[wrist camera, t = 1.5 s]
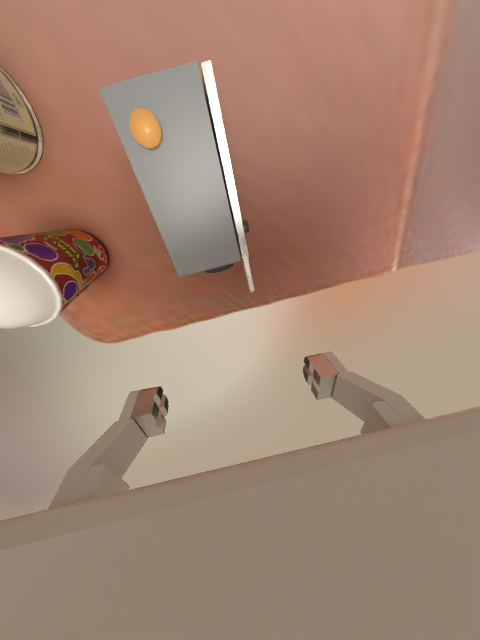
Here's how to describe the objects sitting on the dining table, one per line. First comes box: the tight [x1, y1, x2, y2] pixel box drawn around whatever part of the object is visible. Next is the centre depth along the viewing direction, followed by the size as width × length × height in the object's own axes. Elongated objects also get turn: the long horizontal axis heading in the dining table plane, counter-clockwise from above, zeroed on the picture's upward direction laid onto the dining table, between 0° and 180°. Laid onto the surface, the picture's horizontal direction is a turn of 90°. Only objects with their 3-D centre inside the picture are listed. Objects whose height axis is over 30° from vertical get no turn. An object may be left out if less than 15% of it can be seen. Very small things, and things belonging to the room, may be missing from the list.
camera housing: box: [99, 60, 241, 277], centre depth 23 cm, size 8×17×10 cm, turn 12°
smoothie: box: [0, 229, 108, 329], centre depth 21 cm, size 8×8×20 cm
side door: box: [201, 60, 254, 292], centre depth 24 cm, size 2×21×8 cm, turn 12°
